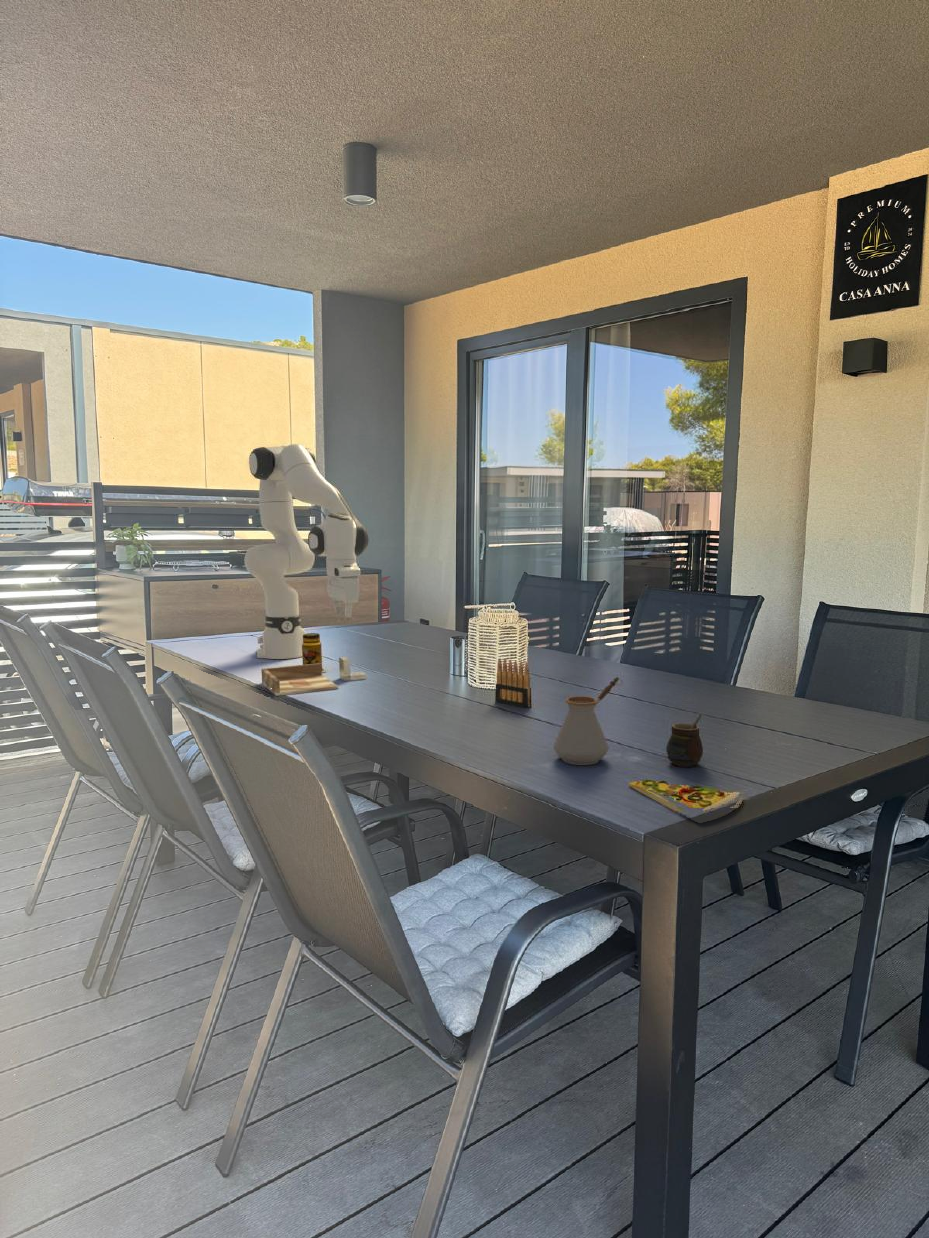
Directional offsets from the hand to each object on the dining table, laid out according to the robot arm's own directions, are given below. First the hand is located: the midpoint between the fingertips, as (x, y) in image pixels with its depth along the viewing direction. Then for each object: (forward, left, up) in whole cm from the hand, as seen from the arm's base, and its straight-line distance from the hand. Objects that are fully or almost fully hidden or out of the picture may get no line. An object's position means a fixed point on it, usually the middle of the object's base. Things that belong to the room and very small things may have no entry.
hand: (343, 615), depth 252 cm
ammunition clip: (+50, +30, -20) cm, 62 cm away
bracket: (0, +2, -20) cm, 20 cm away
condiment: (-17, -6, -20) cm, 27 cm away
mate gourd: (+109, +38, -20) cm, 117 cm away
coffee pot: (+95, +25, -20) cm, 100 cm away
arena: (+2, -15, -20) cm, 25 cm away
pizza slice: (+124, +24, -21) cm, 128 cm away
